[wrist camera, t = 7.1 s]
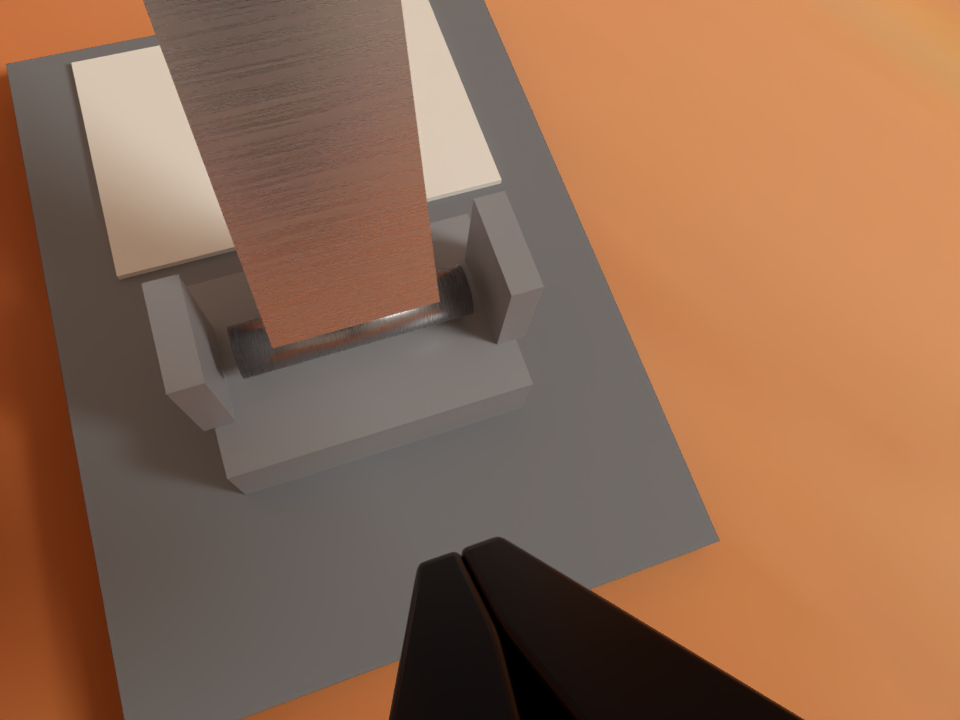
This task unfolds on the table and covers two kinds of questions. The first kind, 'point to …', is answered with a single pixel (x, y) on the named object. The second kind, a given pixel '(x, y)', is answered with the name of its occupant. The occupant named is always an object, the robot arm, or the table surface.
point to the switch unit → (328, 388)
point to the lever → (312, 169)
